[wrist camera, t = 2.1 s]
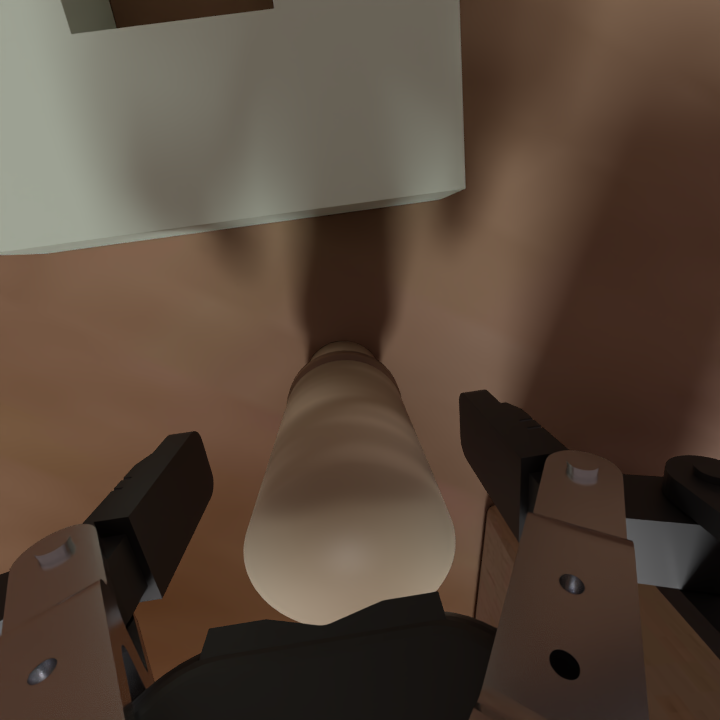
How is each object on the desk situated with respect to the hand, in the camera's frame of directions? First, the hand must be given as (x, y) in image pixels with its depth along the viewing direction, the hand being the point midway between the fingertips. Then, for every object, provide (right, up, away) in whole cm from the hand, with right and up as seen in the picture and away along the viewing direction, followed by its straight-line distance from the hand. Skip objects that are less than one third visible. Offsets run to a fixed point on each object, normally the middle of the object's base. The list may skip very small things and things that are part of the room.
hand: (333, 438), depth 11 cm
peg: (0, +2, +6) cm, 6 cm away
